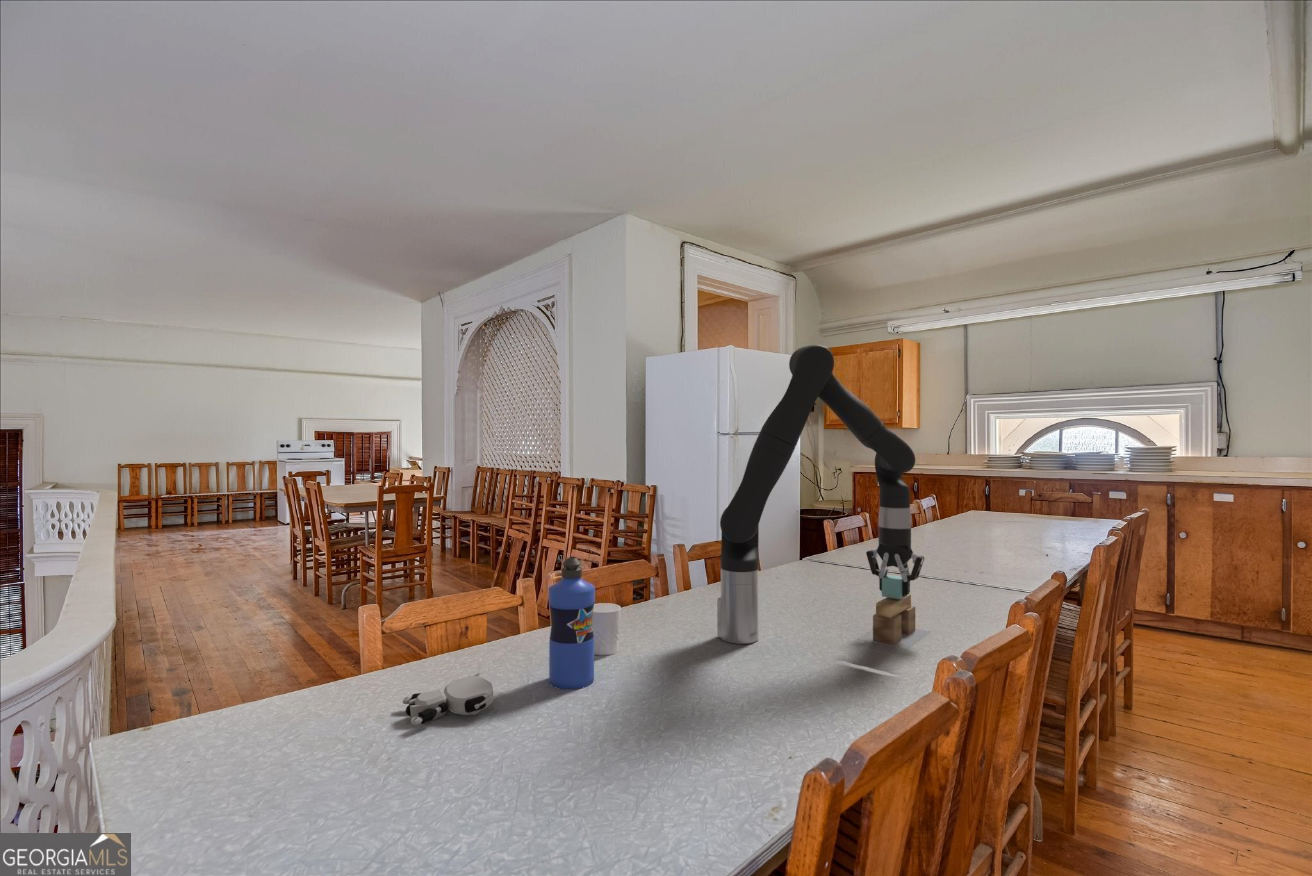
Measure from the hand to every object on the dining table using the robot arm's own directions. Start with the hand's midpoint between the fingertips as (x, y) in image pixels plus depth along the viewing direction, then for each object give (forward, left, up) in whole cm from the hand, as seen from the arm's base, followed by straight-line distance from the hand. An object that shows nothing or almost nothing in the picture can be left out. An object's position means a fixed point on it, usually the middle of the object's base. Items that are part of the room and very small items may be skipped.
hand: (894, 594), depth 154 cm
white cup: (-48, -53, -11) cm, 72 cm away
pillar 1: (0, -5, -10) cm, 11 cm away
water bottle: (-40, -70, -11) cm, 81 cm away
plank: (0, 0, -4) cm, 4 cm away
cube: (0, 0, 0) cm, 0 cm away
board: (0, 0, -11) cm, 11 cm away
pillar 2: (0, +5, -10) cm, 11 cm away
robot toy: (-45, -94, -11) cm, 105 cm away
